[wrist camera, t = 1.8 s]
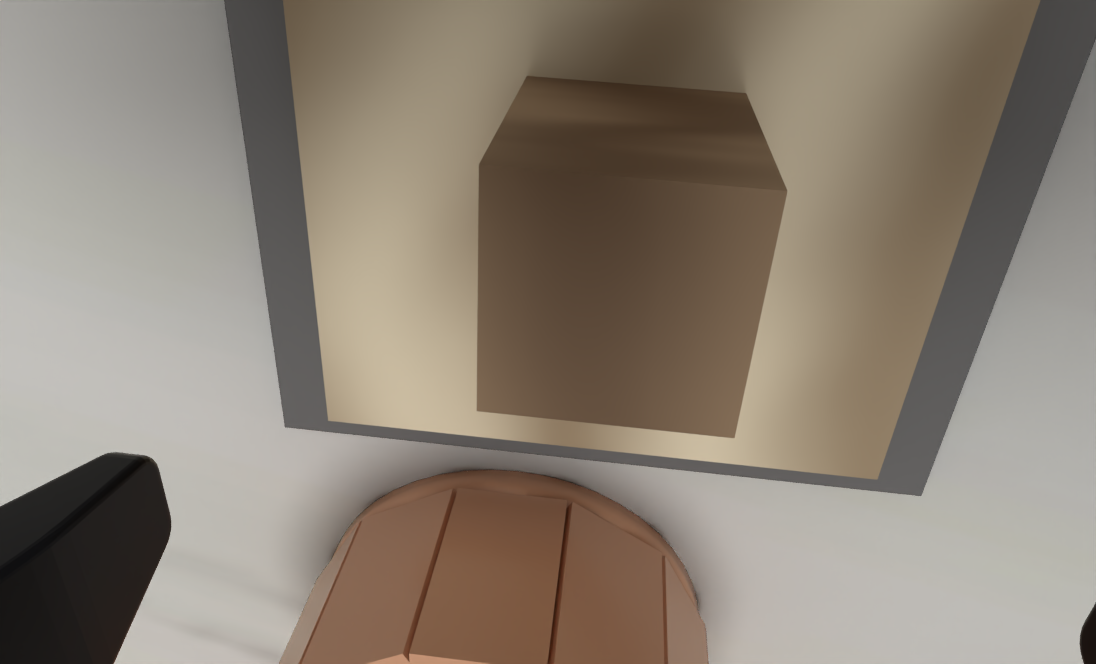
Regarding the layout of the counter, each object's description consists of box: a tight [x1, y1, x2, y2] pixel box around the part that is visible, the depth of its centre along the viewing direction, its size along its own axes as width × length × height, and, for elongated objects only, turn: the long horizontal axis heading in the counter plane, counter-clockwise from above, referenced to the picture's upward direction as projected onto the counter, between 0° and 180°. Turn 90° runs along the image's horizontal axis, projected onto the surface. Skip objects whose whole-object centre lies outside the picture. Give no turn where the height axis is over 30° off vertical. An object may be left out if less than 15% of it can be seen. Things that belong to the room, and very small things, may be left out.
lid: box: [283, 0, 1040, 480], centre depth 14 cm, size 13×13×6 cm
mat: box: [224, 0, 1096, 496], centre depth 17 cm, size 16×15×1 cm
